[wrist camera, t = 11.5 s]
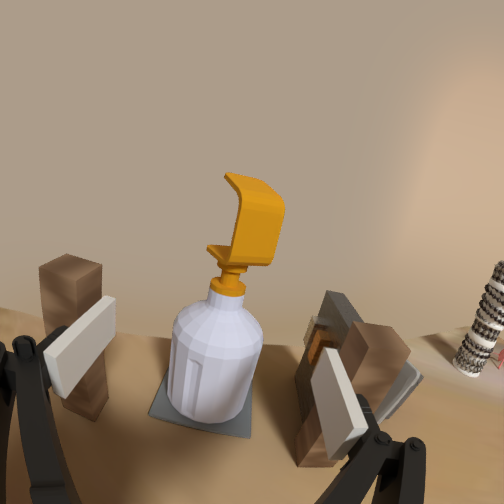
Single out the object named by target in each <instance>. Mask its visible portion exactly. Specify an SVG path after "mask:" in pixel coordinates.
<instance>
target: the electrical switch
mask: <svg viewBox="0 0 504 504" xmlns="http://www.w3.org/2000/svg"><path fill="white" fill-rule="evenodd" d="M422 377H423V376H422V375H421V374H420V372H419V370H418V369H417V368H416V367H415V366H414V365H412V364H411V363H410V362H409V361H408V360H406V362H405V364H404V365H403V367H402V369H401V371H400V373H399V374H398V376H397V378H396V380H395V381H394V383H393V385H392V386H391V388H390V390H389V391H388V393H387V394H386V396H385V398H384V399H383V401H382V402H381V404H380V405H379V407H378V408H377V410H376V411H375V413H374V414H373V415H374V417H375V419H376V422H377V424H380V423H381V422H382V421H383V420H384V419H389V418H390V417H391V416H392V415H393V414H394V413H395V411H396V410H397V409H398V408H399V407H400V406H401V405H402V404H403V402H404V401H405V400H406V399H407V398H408V397H409V395H410V394H411V393H412V392H413V391H414V389H415V388H416V387H417V386H418V384H419V383H420V382H421V381H422V379H423V378H422ZM405 394H406V395H405Z"/></svg>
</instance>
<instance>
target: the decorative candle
mask: <svg viewBox="0 0 504 504" xmlns="http://www.w3.org/2000/svg"><path fill="white" fill-rule="evenodd" d="M485 291H486V293H484V294H483V295H482V299H483V300H481V301H480V302H479V304H480V307H481V308H479V309H477V311H476V314H475V317H476V319H475V321H474V323H473V325H472V327H470V330H469V332H468V334H466V335H465V340H463V341H462V346H460V347H459V349H458V352H457V353H456V354H455V358H454V359H453V365H454V367H455V368H456V369H457V370H458V371H460V372H461V373H462V374H464V375H466V376H469V377H473V378H474V377H478V376H479V374H480V372H481V371H482V369H483V366H485V364H486V363H487V361H486V359H488V358H489V357H490V353H491V352H492V351H493V347H494V345H495V343H496V339H497V337H498V335H499V333H500V331H502V330H503V329H504V327H503V326H504V261H500V262H499V263H498V264H496V266H495V269H494V272H493V275H492V278H491V279H490V281H489V283H488V284H487V285H485Z"/></svg>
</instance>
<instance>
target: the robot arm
mask: <svg viewBox="0 0 504 504" xmlns="http://www.w3.org/2000/svg"><path fill="white" fill-rule="evenodd" d="M115 315H116V299H115V298H113V297H109V296H107V295H105V296H104V297H103V298H102V299H100V300H99V301H98V302H97V303H96V304H95V305H94V306H92V307H91V308H90V309H89V310H88V311H87V312H86V313H84V314H83V315H82V316H81V317H80V318H79V319H78V320H77V321H76V322H74V323H73V324H72V325H71V326H70V327H68V326H65V325H63V326H60V327H58V328H56V329H55V330H54V331H53V332H51V334H49V335H48V336H47V338H45V339H44V340H43V341H41V342H40V343H39V344H38V345H37V346H36V342H35V340H34V339H33V338H32V337H30V336H26V335H23V336H18V337H16V338H15V339H14V340H13V342H12V346H13V350H14V353H13V352H9V351H6V348H5V345H4V344H3V343H2V342H1V341H0V504H6V459H7V447H8V438H9V430H10V423H11V417H12V411H13V406H14V401H15V396H17V409H18V418H19V426H20V433H21V440H22V446H23V451H24V456H25V461H26V465H27V469H28V473H29V477H30V481H31V487H30V495H31V499H32V502H33V504H82V503H81V500H80V498H79V496H78V493H77V491H76V489H75V486H74V483H73V481H72V478H71V475H70V473H69V470H68V467H67V464H66V461H65V458H64V455H63V451H62V448H61V444H60V441H59V437H58V433H57V429H56V425H55V421H54V417H53V412H52V407H51V402H50V396H49V392H48V389H49V388H50V386H51V385H52V388H53V392H54V393H55V394H57V395H59V396H60V397H62V398H64V399H66V398H67V397H68V395H69V394H70V392H71V391H72V390H73V388H74V387H75V386H76V384H77V383H78V382H79V381H80V379H81V378H82V377H83V375H84V374H85V373H86V371H87V370H88V369H89V368H90V366H91V365H92V364H93V362H94V361H95V360H96V359H97V357H98V356H99V355H100V354H101V352H102V351H103V350H104V348H105V347H106V346H107V345H108V344H109V342H110V341H111V340H112V339H113V337H114V336H115V335H116V334H115ZM310 381H311V385H312V389H313V394H314V398H315V402H316V406H317V411H318V415H319V419H320V424H321V428H322V432H323V437H324V441H325V446H326V450H327V455H328V460H343V459H344V457H345V456H346V455H347V454H348V457H349V460H348V461H347V463H346V464H345V465H344V466H343V467H342V468H341V469H340V470H341V471H340V472H339V474H338V475H337V476H336V478H335V479H334V480H333V481H332V483H331V484H330V485H329V487H328V488H327V489H326V490H325V492H324V493H323V494H322V495H321V496H320V498H319V499H318V500H317V501H316V502H315V503H314V504H360V503H361V502H362V500H363V499H364V497H365V495H366V494H367V492H368V490H369V489H370V487H371V485H372V483H373V482H374V480H375V478H376V476H377V475H378V478H377V483H376V487H375V491H374V496H373V500H372V503H371V504H423V503H424V492H425V474H426V447H425V444H424V443H423V441H421V440H420V439H418V438H416V437H411V438H408V439H407V440H406V441H405V442H404V443H402V442H397V441H392V438H391V437H390V436H389V435H388V434H387V433H385V432H383V431H380V429H379V426H378V424H377V422H376V419H375V417H374V415H373V413H372V410H371V408H370V405H369V403H368V401H367V399H366V398H365V397H364V396H363V395H362V394H355V393H354V390H353V388H352V385H351V383H350V380H349V378H348V376H347V373H346V371H345V368H344V366H343V364H342V361H341V359H340V357H339V354H338V352H337V350H336V349H330V348H325V350H324V352H323V354H322V356H321V359H320V361H319V363H318V365H317V367H316V370H315V372H314V374H313V376H312V378H311V380H310Z"/></svg>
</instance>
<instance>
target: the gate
mask: <svg viewBox="0 0 504 504" xmlns="http://www.w3.org/2000/svg"><path fill="white" fill-rule="evenodd" d="M39 281H40V293H41V303H42V312H43V319H44V326H45V332H46V338H47V336H48V335H49V334H51V332H53V331H54V330H55V329H56V328H58V327H60V326H63V325H65V326H68V327H70V326H71V325H72V324H73V323H74V322H76V321H77V320H78V319H79V318H80V317H81V316H82V315H83V314H84V313H86V312H87V311H88V310H89V309H90V308H91V307H92V306H94V305H95V304H96V303H97V302H98V301H99V300H100V299H102V291H101V290H102V264H99V263H95V262H92V261H89V260H86V259H82V258H79V257H76V256H72V255H69V254H65V255H63V256H61V257H59V258H56V259H54V260H52V261H50V262H48V263H46V264H44V265H42V266H40V267H39ZM410 352H411V350H410V349H409V348H408V347H407V345H406V344H405V343H404V342H403V340H402V339H401V338H400V337H399V335H398V334H397V333H396V332H395V331H394V329H393V328H392V327H389V326H382V325H375V324H368V323H362V322H356V321H353V322H352V324H351V327H350V329H349V332H348V334H347V336H346V339H345V341H344V343H343V346H342V348H341V350H340V352H339V357H340V359H341V361H342V364H343V366H344V368H345V371H346V373H347V376H348V378H349V380H350V383H351V385H352V388H353V390H354V393H355V394H362V395H363V396H364V397H365V398H366V399H367V401H368V403H369V405H370V408H371V410H372V413H373V414H374V413H375V411H376V410H377V408H378V407H379V405H380V404H381V402H382V401H383V399H384V398H385V396H386V394H387V393H388V391H389V390H390V388H391V386H392V385H393V383H394V381H395V380H396V378H397V376H398V374H399V373H400V371H401V369H402V367H403V365H404V364H405V362H406V360H407V358H408V356H409V354H410ZM108 398H109V397H108V390H107V382H106V374H105V364H104V352H103V351H102V352H101V354H100V355H99V356H98V357H97V359H96V360H95V361H94V362H93V364H92V365H91V366H90V368H89V369H88V370H87V371H86V373H85V374H84V375H83V377H82V378H81V379H80V381H79V382H78V383H77V384H76V386H75V387H74V388H73V390H72V391H71V392H70V394H69V395H68V397H67V398H66V399H64V398H62V397H61V400H62V403H63V407H65V408H67V409H69V410H71V411H73V412H75V413H77V414H79V415H81V416H83V417H85V418H88V419H90V420H92V421H94V422H95V420H96V418H97V417H98V415H99V413H100V412H101V410H102V408H103V407H104V405H105V403H106V402H107V400H108ZM294 441H295V450H296V458H297V467H333V466H334V465H335V464H336V463H337V462H338V460H328V455H327V450H326V446H325V441H324V437H323V432H322V428H321V424H320V419H319V415H318V411H317V406H316V402H315V404H314V406H313V408H312V409H311V411H310V413H309V415H308V417H307V419H306V420H305V422H304V424H303V426H302V427H301V429H300V431H299V433H298V434H297V436H296V438H295V439H294Z"/></svg>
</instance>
